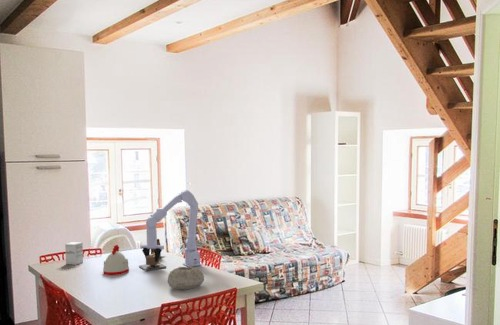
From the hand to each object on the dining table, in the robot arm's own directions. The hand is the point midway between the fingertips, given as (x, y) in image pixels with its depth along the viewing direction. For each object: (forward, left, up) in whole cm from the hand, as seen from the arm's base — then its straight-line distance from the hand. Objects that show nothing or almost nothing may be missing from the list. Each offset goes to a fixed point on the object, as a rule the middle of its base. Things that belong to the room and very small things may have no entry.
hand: (152, 261), depth 260 cm
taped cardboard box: (0, 0, -2) cm, 2 cm away
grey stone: (-49, +1, -4) cm, 49 cm away
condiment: (+22, -11, -4) cm, 25 cm away
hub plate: (0, 0, -4) cm, 4 cm away
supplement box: (+41, +35, -4) cm, 54 cm away
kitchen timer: (+4, +20, -4) cm, 21 cm away
